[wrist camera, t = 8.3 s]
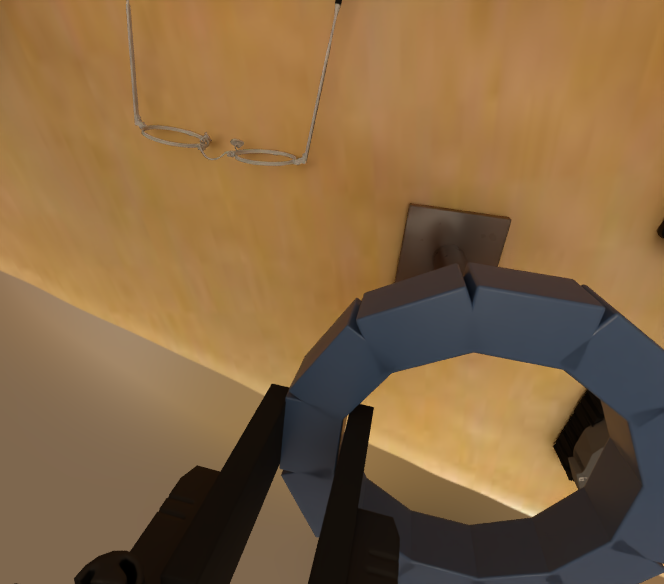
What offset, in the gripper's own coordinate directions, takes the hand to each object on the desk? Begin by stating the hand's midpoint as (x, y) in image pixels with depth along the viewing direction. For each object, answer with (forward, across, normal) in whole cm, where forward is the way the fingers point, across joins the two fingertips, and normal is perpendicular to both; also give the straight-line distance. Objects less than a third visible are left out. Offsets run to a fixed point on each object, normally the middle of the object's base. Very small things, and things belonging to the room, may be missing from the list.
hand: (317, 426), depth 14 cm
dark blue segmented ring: (+1, +5, 0) cm, 6 cm away
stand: (+23, +6, +1) cm, 24 cm away
